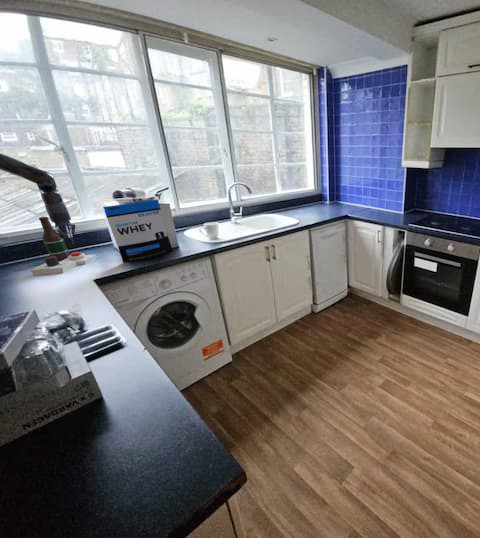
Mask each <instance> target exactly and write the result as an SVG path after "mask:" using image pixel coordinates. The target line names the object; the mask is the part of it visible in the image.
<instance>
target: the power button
mask: <svg viewBox="0 0 480 538" xmlns="http://www.w3.org/2000/svg"><path fill="white" fill-rule="evenodd" d="M80 253H81V252H80V251H74V252H71V253H70V255H72V257H75V256H79V255H81V254H80Z"/></svg>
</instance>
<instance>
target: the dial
mask: <svg viewBox="0 0 480 538" xmlns="http://www.w3.org/2000/svg"><path fill="white" fill-rule="evenodd" d="M43 260H44V262H45V263H46V264H47V266H48V267H51V266H56V265H59V262H60V261H58V260H57V257H56V256H51V257H50V256H47V257H44V258H43Z"/></svg>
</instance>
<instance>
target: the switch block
mask: <svg viewBox="0 0 480 538" xmlns="http://www.w3.org/2000/svg"><path fill="white" fill-rule="evenodd" d="M80 254H81V255H79V256H75V257H72V255H71V254H70V256H68V258H67V259H65V260H63V261H74V260H75V262H76V264H77V266H80V265H87V264H89V263H91V262H93V261H94V260H96V259H98V257H97V254H95V253H94V254H85V253H83V252H80ZM63 261H60V262H63Z"/></svg>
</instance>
